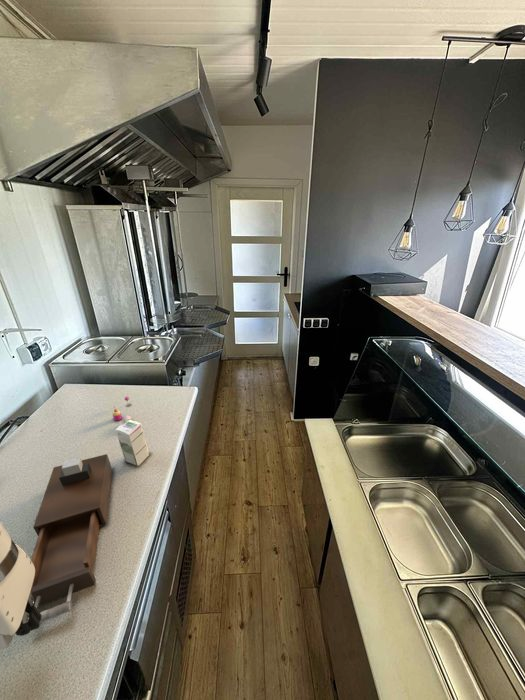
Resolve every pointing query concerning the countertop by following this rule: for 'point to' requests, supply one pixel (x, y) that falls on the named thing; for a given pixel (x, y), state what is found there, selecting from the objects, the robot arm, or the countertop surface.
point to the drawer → (64, 561)
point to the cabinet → (76, 495)
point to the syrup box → (132, 442)
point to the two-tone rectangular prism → (74, 471)
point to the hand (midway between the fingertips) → (30, 626)
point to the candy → (118, 415)
